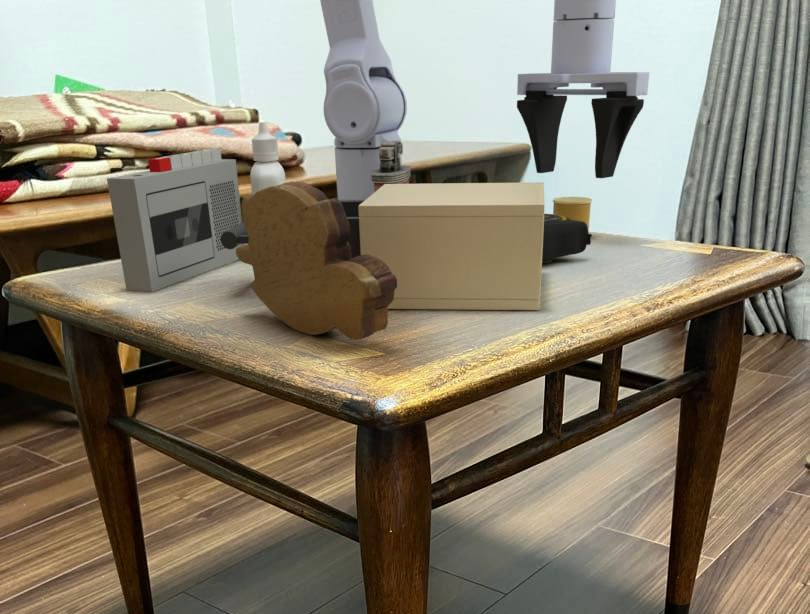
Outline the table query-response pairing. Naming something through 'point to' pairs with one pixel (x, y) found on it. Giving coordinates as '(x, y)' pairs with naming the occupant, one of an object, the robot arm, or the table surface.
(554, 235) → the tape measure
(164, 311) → the table surface
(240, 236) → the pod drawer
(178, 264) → the cassette player
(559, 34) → the robot arm
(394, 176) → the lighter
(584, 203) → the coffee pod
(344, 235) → the wooden carving
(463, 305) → the lidded cardboard box
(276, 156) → the eye dropper bottle
